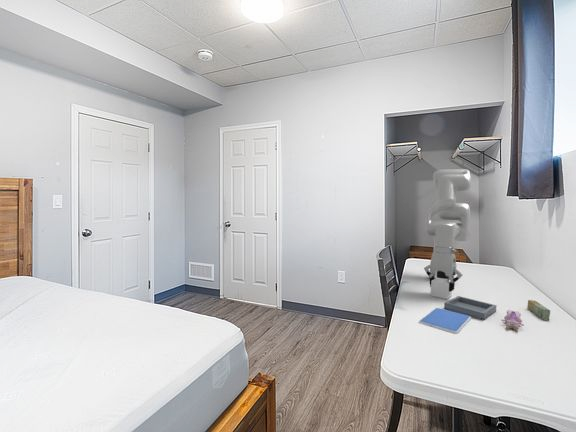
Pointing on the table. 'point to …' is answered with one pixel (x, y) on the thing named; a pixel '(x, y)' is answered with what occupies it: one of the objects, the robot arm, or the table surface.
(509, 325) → the rabbit figure
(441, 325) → the blue flat pad
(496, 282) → the table surface
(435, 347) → the table surface
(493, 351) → the table surface
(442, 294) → the medicine bottle
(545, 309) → the medication box
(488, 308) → the tray
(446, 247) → the robot arm
